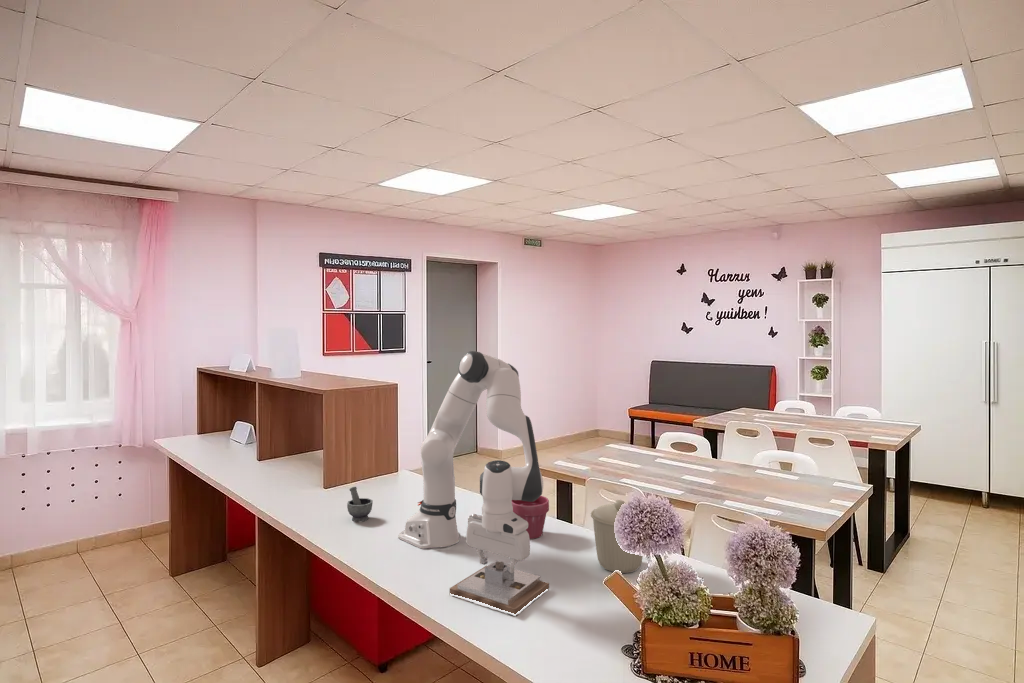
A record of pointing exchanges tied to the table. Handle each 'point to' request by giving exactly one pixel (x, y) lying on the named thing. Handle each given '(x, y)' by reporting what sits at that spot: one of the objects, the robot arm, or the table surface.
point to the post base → (512, 608)
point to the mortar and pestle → (359, 506)
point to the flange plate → (499, 584)
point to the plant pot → (532, 514)
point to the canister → (611, 541)
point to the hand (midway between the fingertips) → (496, 567)
